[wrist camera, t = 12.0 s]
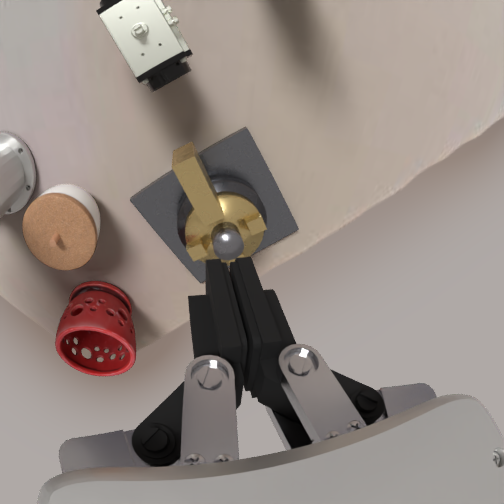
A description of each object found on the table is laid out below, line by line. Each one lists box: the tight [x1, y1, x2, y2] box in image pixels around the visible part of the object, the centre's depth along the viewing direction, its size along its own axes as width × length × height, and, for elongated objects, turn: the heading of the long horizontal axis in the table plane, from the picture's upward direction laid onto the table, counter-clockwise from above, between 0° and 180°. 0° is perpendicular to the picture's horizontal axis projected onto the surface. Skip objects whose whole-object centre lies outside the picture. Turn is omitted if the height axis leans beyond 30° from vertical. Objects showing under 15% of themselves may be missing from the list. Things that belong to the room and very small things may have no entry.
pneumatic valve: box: [97, 0, 193, 92], centre depth 21 cm, size 6×12×12 cm, turn 25°
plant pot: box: [55, 281, 136, 376], centre depth 42 cm, size 13×13×12 cm
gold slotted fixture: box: [172, 142, 267, 266], centre depth 34 cm, size 17×10×6 cm, turn 21°
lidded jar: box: [22, 184, 101, 270], centre depth 32 cm, size 11×11×9 cm
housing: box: [130, 127, 299, 283], centre depth 40 cm, size 18×18×4 cm
